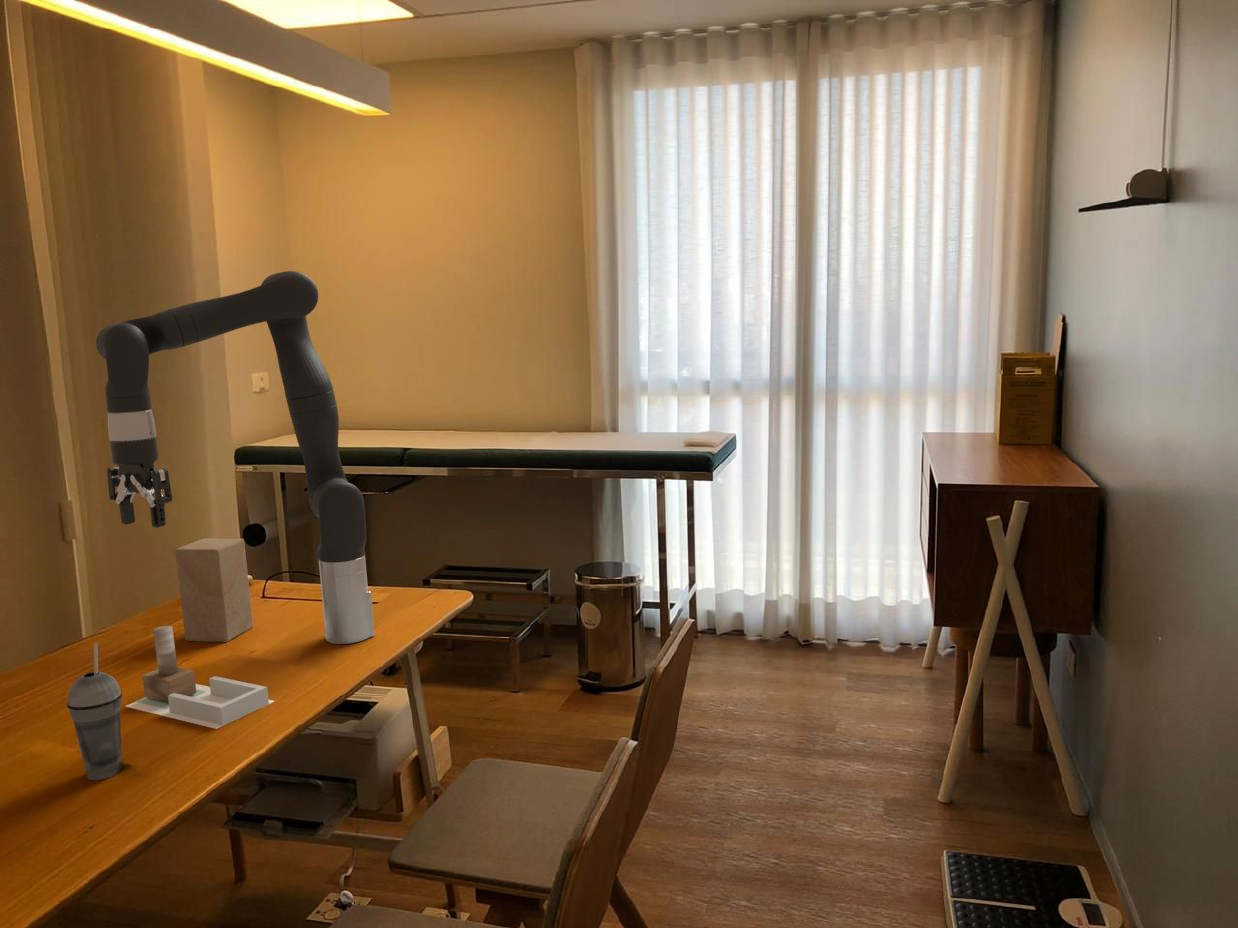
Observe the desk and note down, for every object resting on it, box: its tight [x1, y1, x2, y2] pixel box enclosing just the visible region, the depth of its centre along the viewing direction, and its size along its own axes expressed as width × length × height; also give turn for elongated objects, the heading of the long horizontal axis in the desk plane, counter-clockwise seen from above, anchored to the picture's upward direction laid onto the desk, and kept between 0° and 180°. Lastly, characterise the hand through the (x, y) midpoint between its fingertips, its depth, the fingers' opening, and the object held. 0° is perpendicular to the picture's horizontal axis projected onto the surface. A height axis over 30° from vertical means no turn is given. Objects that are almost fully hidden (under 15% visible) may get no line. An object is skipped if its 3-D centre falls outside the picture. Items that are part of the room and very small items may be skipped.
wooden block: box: [174, 537, 254, 643], centre depth 206 cm, size 10×10×20 cm
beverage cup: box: [66, 643, 123, 781], centre depth 143 cm, size 7×7×20 cm
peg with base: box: [141, 625, 197, 703], centre depth 168 cm, size 7×5×12 cm
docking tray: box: [124, 676, 276, 730], centre depth 166 cm, size 23×12×4 cm, turn 62°
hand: (143, 525), depth 176 cm, fingers open, 8 cm apart
